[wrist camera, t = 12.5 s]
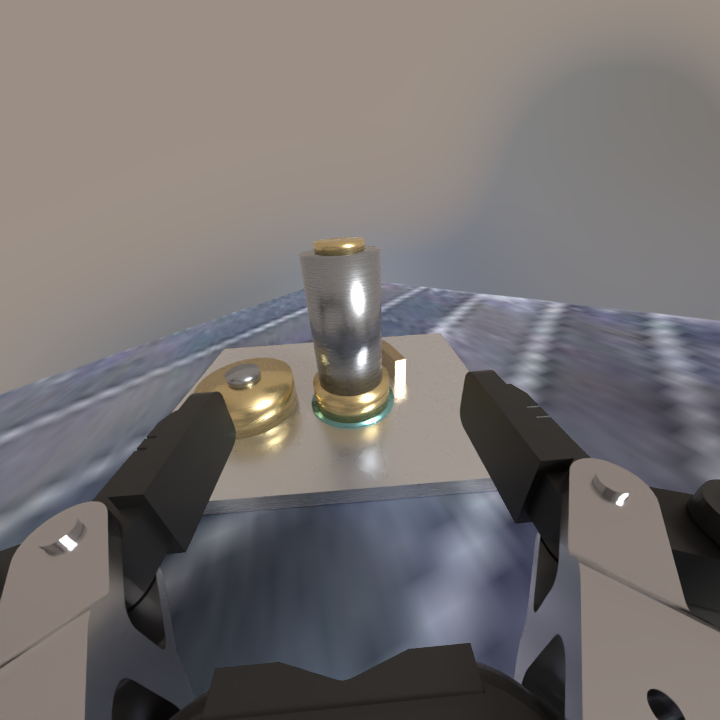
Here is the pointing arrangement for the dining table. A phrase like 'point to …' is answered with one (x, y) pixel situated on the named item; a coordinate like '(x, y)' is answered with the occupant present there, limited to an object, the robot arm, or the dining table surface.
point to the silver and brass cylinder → (346, 328)
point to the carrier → (341, 430)
